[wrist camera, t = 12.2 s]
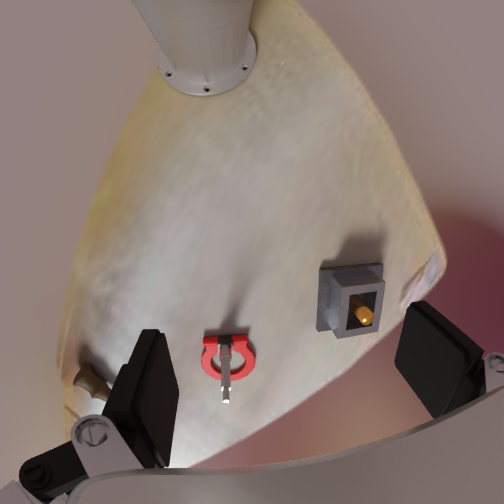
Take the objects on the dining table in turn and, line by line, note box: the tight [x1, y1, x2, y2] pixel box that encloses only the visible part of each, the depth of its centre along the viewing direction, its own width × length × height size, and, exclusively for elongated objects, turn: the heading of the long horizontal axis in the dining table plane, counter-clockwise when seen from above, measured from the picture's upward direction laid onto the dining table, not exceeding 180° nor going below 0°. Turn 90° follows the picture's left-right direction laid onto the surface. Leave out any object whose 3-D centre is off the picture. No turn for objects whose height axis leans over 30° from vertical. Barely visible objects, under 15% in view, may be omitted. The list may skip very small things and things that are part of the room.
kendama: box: [73, 364, 111, 402], centre depth 42 cm, size 6×10×20 cm
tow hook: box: [201, 335, 255, 403], centre depth 37 cm, size 8×13×9 cm
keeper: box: [316, 263, 383, 332], centre depth 38 cm, size 10×10×7 cm
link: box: [329, 272, 385, 339], centre depth 39 cm, size 8×7×4 cm
